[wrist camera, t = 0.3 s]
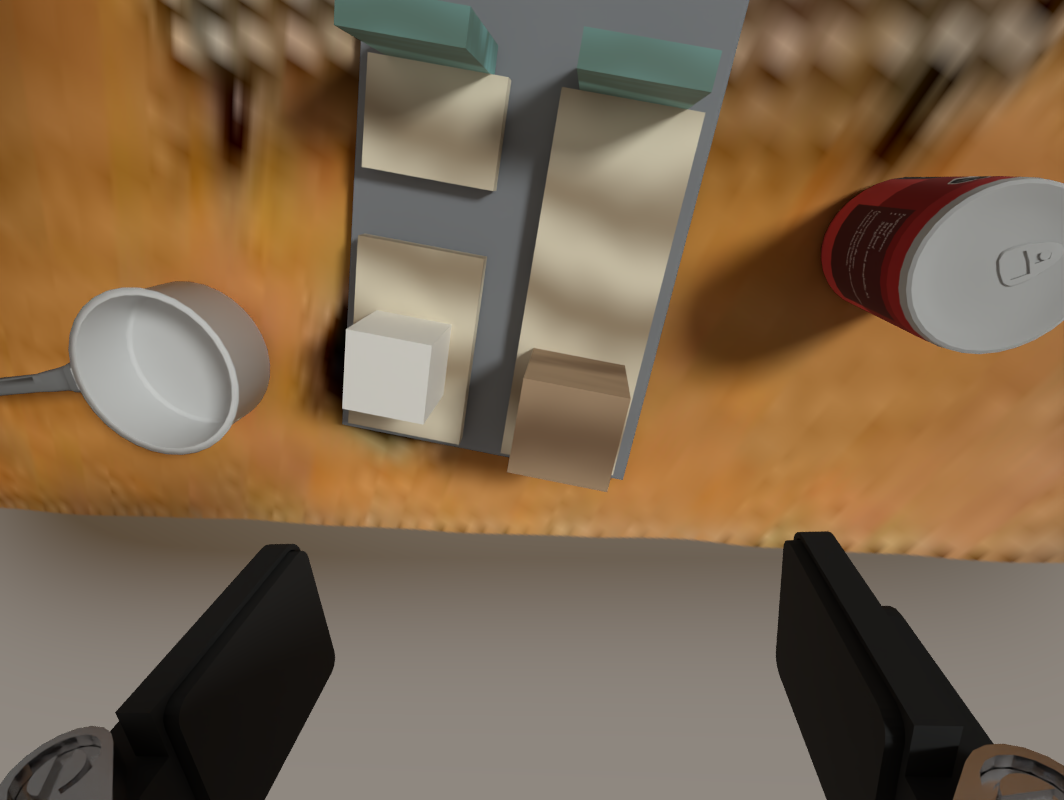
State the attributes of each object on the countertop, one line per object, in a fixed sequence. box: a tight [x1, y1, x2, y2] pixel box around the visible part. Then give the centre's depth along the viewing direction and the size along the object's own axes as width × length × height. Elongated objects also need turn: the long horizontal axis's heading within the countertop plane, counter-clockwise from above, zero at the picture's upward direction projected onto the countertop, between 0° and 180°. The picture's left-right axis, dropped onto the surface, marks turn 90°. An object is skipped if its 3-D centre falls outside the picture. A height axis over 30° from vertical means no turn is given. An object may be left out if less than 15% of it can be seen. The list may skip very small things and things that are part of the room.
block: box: [342, 310, 452, 424], centre depth 36 cm, size 5×5×5 cm
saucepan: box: [0, 281, 270, 455], centre depth 40 cm, size 12×20×6 cm, turn 96°
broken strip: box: [334, 0, 511, 445], centre depth 33 cm, size 25×8×8 cm, turn 170°
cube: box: [507, 348, 631, 492], centre depth 35 cm, size 6×6×6 cm
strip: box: [501, 26, 722, 475], centre depth 33 cm, size 25×8×8 cm, turn 170°
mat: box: [342, 0, 749, 480], centre depth 35 cm, size 37×21×1 cm, turn 170°
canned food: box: [821, 176, 1064, 354], centre depth 30 cm, size 8×8×11 cm
